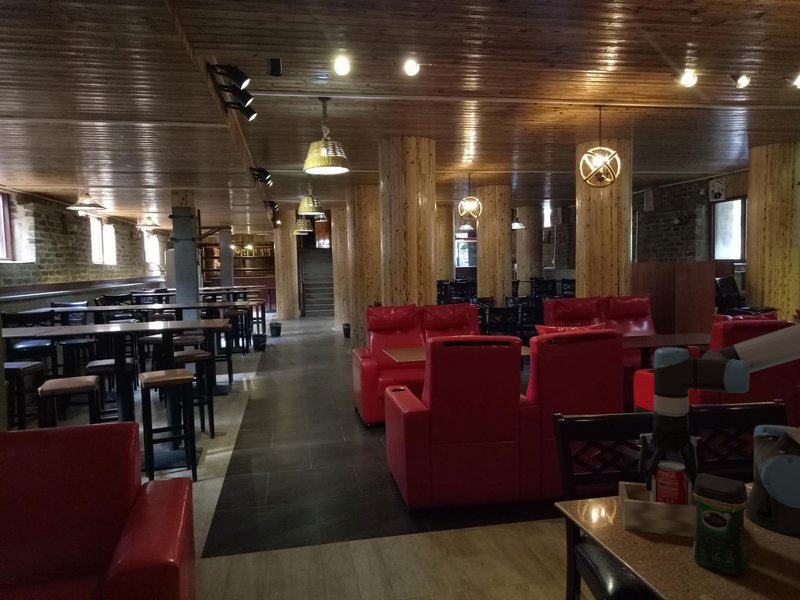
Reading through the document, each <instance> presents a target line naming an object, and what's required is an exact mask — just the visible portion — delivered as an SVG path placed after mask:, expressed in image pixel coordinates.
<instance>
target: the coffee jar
mask: <svg viewBox="0 0 800 600" xmlns="http://www.w3.org/2000/svg"><path fill="white" fill-rule="evenodd" d="M693 496H694V499H695V502H696V507H697V520H696V531H695V537H694V540H693V541H694V542H693V552H692V553H693V554H692V555H693V559H694V561H695V562H696V563H697V564H698V565H700V566H702V567H704V568H707V569H710V570H712V571H716V572H719V573H723V574H726V575H728V576H729V575H730V576H739V575H743V574H745V572H746V571H747V569H748V566H749V564H748V563H749V561H748V552H747V551H748V549H747V542H746V533H745V520H744V519H745V508H746V506H747V503H748V496H749V495H748V491H747V485H746V483H745V482H744V481H743V480H736V479H732V478H728V477H723V476H719V475H715V474H713V475H712V474H708V473H706V472H705V473H701V474H700V475H698V476H697V477H696V480H695V485H694V490H693Z"/></svg>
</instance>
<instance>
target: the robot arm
mask: <svg viewBox="0 0 800 600" xmlns="http://www.w3.org/2000/svg"><path fill="white" fill-rule="evenodd" d="M798 359H800V323H797V324H794V325H791V326H789V327H785V328H781V329H779V330H775V331H773V332H769V333H766V334H763V335H760V336H757V337H753V338H750V339H748V340H744V341H741V342H738V343H735V344H732V345H730V346H726V347H723V348H720V349H719V348H715V349H710V350H708V351H706V352H705V353H704V354H703V355H702V356H701V357H698V358H697V357H692V356H690V352H689V350H688V349H686V348H682V347H673V346H672V347H669V346H667V347H666V346H665V347H658V348H657V349H656V350H655V351H654V354H653V410H654V412H653V429H652V431H651V432H650V433H643V432H641V433H639V438H640V449H639V457H638V464H637V472H638V474H639V476H643V477H645V484H646V488H647V491H650V501H651V502H656V480H655V470H656V468H657V465H658V463H659V462H660V461H661V460H662V459H661V458H662V456H663V455H664V453H665V452H672V451H673V452H677V453H678V454H679V455H680V457H681V458H680V459H681V460H682V462H683V465H684V466H685V471H686V472H687V476H688V477H689V478H688V477H687V505H691V506H692V495H693V490H694V485H695V480H696V477H697V476H698V475H700V474H701V473H706V471H705V466H704V459H703V458H704V456H703V450H702V449H703V445H704V440H703V439H702V437H700V436H693V435H691V434H690V432H689V425H690V424H689V423H690V422H689V415H688V413H689V411H690V410H689V409H690V407H689V406H690V405H689V401H690V400H689V398H690V397H689V396H690V395H689V390H693V391H705V392H706V391H708V392H709V391H710V392H715V393H716V392H717V393H727V394H728V393H729V394H746V393H747V392H749V388H750V373H754V372H757V371H758V372H759V371H761V370H764V369H767V368H771V367H774V366H777V365H782V364H785V363H788V362H791V361H795V360H798ZM753 430H754V433H753V437H752V438H753V485H752V487H751V490H750V492H749V494H748V495H747V496H748V503H747V506H746V508H745V510H744V516H745V517H746V518H747V519H748V520H749V521H751V522H752V523H754V524H756V525H758V526H761V527H762V528H764V529H766V530H767V529H768V530H771V531H774V532H778V533H782V534H786V535H787V534H788V535H796V536H800V427H792V426H787V425H778V424H777V425H776V424H759V425H756V426H755V428H754V429H753ZM651 440H654V442H655V443H656V445H655V449H654V452H653V454H652V456H651V458H650V461H649V463H648V465H647V467H646V464H647V463H646V462H647V456H648V450H649V449H648V448H649V444H650V443H651ZM689 442H691V445H692V446H693V453H694V458H695V465H696V466H695V468H696V473H695V472H694V469H693V467H692V464H691V462H690V459H689V457H688V454H687V452H686V449H685V447H686V446H687V445H688V443H689Z"/></svg>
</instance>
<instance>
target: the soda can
mask: <svg viewBox="0 0 800 600" xmlns="http://www.w3.org/2000/svg"><path fill="white" fill-rule="evenodd" d="M654 477H655V480H656V502H659V503H670V504H680V505H687V478H688V473H687V470H686V468H685V465H684V464H682V463H680V462H676V461H672V460H660V461H659V463H658V465H657V468H656V470H655V472H654Z"/></svg>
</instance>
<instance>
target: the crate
mask: <svg viewBox="0 0 800 600" xmlns="http://www.w3.org/2000/svg"><path fill="white" fill-rule="evenodd" d="M618 484H619V485H618V498H619V499H618V501H619V502H618V503H619V504H618V507H619V513H620V517H621V521H622V524H623V529H624V530H626V531H633V532H634V531H635V532H643V533H650V534H651V533H652V534H660V535H661V534H662V535H669V534H670V535H669V536H671V535H673V536H680V537H681V536H682V537H689V538H695V531H696V520H697V507H696V502H695V499H694V496H693V495H692V506H691V505H680V504H670V503H659V502H651V501H650V491H647V488H646V483H638V482H631V481H630V482H628V481H619V482H618Z"/></svg>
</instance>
